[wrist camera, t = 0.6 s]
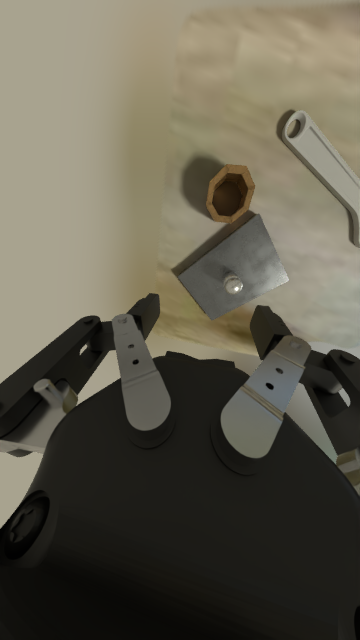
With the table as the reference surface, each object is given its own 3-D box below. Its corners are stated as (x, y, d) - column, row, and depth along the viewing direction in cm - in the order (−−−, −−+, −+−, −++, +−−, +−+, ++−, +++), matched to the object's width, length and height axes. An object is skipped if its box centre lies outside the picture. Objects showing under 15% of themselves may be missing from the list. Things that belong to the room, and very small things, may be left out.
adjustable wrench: (275, 137, 21) (279, 131, 20) (324, 70, 18) (335, 57, 16) (360, 254, 27) (369, 256, 25) (410, 221, 23) (424, 221, 22)
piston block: (255, 214, 26) (271, 211, 19) (285, 277, 30) (305, 292, 24) (179, 274, 34) (171, 286, 27) (211, 316, 39) (211, 335, 32)
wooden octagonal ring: (234, 163, 23) (239, 150, 19) (252, 203, 25) (260, 199, 21) (200, 197, 26) (198, 192, 22) (219, 230, 28) (221, 231, 24)
